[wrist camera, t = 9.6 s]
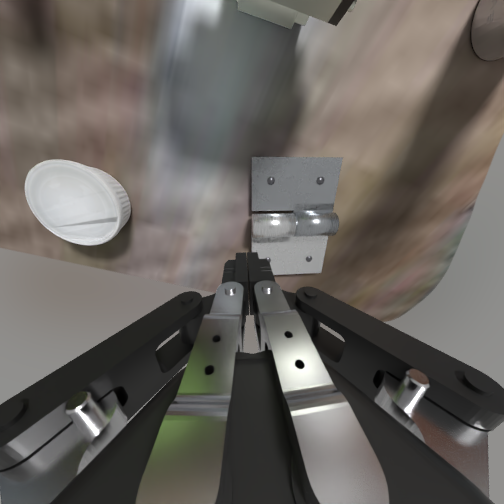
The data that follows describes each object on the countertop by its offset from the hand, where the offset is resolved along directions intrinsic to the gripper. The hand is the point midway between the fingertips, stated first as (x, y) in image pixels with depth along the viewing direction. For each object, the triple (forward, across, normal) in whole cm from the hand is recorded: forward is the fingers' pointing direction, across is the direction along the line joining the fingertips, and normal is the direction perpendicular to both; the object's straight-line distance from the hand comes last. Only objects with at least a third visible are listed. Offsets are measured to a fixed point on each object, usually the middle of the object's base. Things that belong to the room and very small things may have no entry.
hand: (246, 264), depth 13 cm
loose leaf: (+20, -8, +7) cm, 23 cm away
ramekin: (+20, +23, -1) cm, 30 cm away
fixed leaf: (+20, -9, -1) cm, 22 cm away
